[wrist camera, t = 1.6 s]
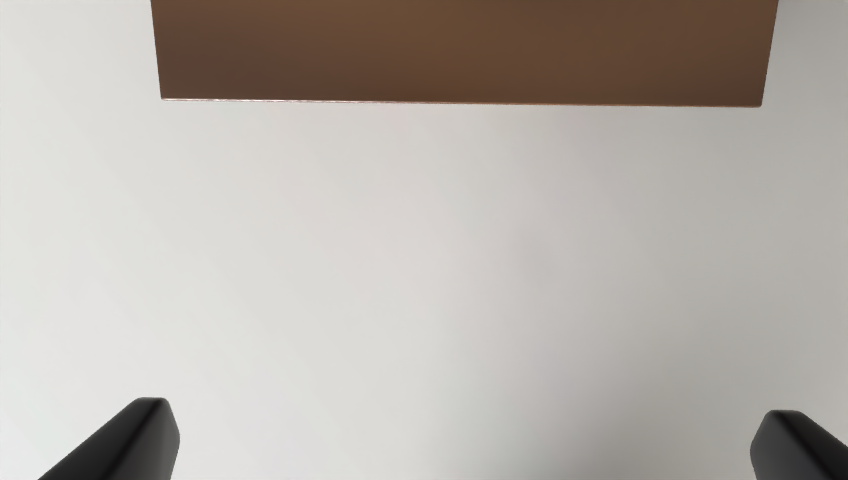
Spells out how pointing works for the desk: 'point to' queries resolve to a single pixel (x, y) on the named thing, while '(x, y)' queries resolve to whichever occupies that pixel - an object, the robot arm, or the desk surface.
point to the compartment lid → (466, 51)
